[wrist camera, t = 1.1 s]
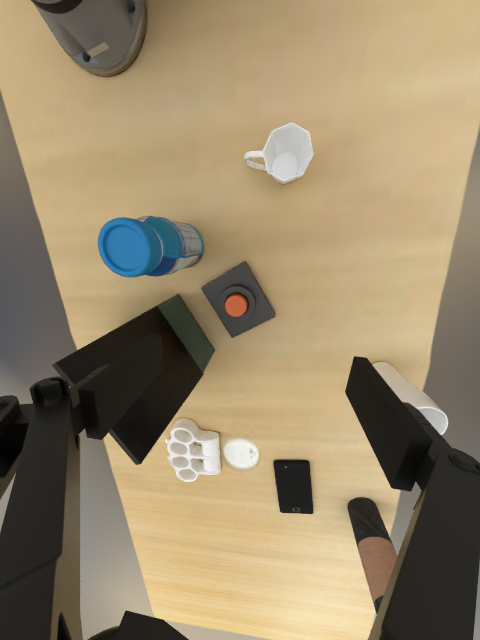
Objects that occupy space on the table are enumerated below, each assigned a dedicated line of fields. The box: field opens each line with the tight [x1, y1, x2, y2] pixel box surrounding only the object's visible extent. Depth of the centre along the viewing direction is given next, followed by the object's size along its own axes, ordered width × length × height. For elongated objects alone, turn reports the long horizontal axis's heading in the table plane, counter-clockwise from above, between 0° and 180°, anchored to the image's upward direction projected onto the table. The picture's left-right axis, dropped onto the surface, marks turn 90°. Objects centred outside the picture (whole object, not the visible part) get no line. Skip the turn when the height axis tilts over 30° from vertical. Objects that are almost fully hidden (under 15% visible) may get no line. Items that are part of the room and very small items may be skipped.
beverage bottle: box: [98, 216, 204, 277], centre depth 36 cm, size 8×8×20 cm
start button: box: [225, 294, 247, 317], centre depth 43 cm, size 4×4×2 cm
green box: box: [157, 294, 215, 372], centre depth 48 cm, size 17×15×10 cm
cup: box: [244, 122, 314, 185], centre depth 36 cm, size 7×10×8 cm
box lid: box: [52, 306, 203, 465], centre depth 33 cm, size 18×15×1 cm
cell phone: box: [274, 460, 313, 514], centre depth 61 cm, size 9×18×1 cm, turn 9°
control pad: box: [201, 261, 275, 338], centre depth 46 cm, size 12×10×4 cm
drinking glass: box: [373, 362, 448, 435], centre depth 41 cm, size 7×7×15 cm
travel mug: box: [348, 498, 398, 614], centre depth 51 cm, size 8×8×20 cm
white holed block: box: [165, 418, 221, 482], centre depth 60 cm, size 3×18×15 cm
